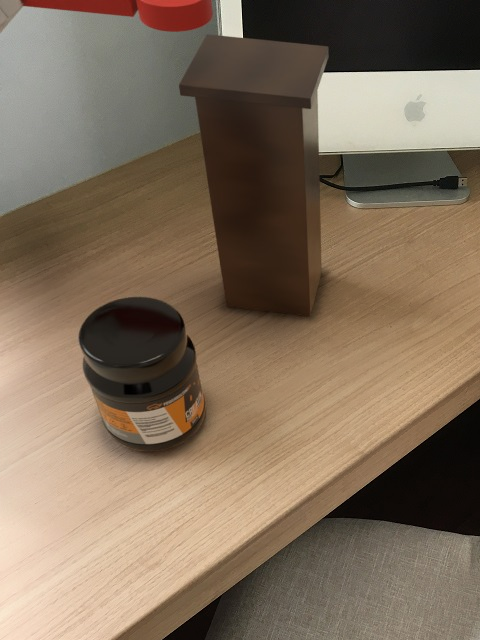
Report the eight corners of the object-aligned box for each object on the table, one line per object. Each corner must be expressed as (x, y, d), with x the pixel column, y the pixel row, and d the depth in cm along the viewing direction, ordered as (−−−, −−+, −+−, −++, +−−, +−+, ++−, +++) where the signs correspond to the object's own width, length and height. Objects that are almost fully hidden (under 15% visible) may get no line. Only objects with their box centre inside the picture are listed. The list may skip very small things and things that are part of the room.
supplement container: (167, 471, 77) (142, 386, 68) (82, 432, 80) (46, 344, 70) (227, 403, 83) (212, 315, 73) (146, 368, 85) (121, 278, 76)
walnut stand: (215, 311, 91) (178, 84, 70) (235, 258, 97) (206, 33, 76) (317, 323, 91) (310, 98, 70) (331, 268, 97) (328, 46, 75)
